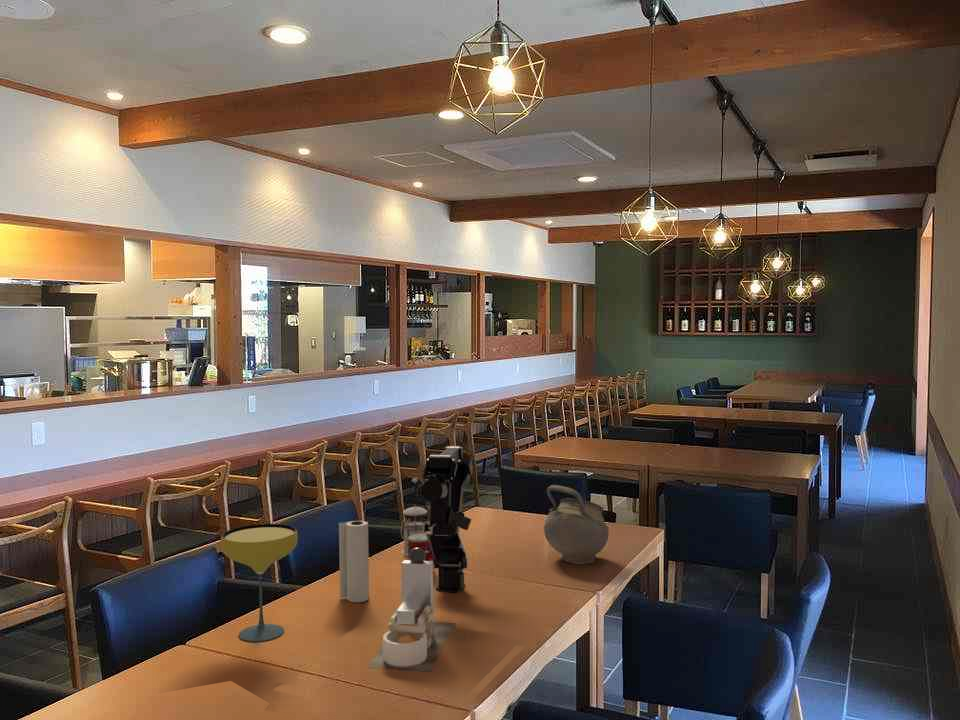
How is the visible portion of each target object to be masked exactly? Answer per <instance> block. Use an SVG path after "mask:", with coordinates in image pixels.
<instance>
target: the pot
mask: <svg viewBox="0 0 960 720" xmlns="http://www.w3.org/2000/svg"><path fill="white" fill-rule="evenodd" d="M551 491H553V492H560V493H564V494H565V493H566V494H569V495H572V496H573V497H575V498H571V497H569V498H568V497H567V498H566V497H565V498H561V499H560V503H559V505H558V504H557V502H556V501H555V499H554V497H553V494H552V492H551ZM546 494H547V496H548V499H549V500H550V501H551V504H552V505H553V507H552V508H550V509H548V511H549V512H548V515H547V517H546V519H545V522H544V525H543V533H544V536H545V539H546V541H547V543H548V545H549V546H551V547H552V549H554V550H555V551H556V552H557V553H558V552H559V553H560V555H561V557H562V560H563V561H564V562H567V563H571V564H576V565H577V564H579V565H585V563H586V564H590V563H593V562H594V561H595V558H596V556H597V555H598V554H599V553H601V551H602V550H603V549H604V548H605V546H606V544H607V542H609V541H608V540H609V536H610V535H609V531H610V528H609V526H608V525H607V524H606V523H605V518H604V516H603V514H602V513H603V512H604V508H603V507H602V506H601V505H599V504H597V503H594V502H593V501H589V500H584V499H583V497H582V495H581V493H579V492H578V491H577V490H576V489H573V488H571V487H568V486H563V485H558V484H552V485H550V486H548V487H547V488H546ZM557 505H558V506H557Z"/></svg>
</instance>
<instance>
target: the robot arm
mask: <svg viewBox="0 0 960 720" xmlns="http://www.w3.org/2000/svg"><path fill="white" fill-rule="evenodd" d="M473 467H474V466H473V461H472V457H471V456H470V455H469V454H468V453H466V452H465V451H464V448H463V446H460V445H459V446H458V445H456V446H454V445H451V446H450V445H448V446H445V448H444V450H443V451H442V452H441V453H440V454H430V455H429V456H428V458H427V459H426V461H425V467H424V470H423V474H422V479H423V480H426V481H425V482H424V483H423V484H422V486H421V488H420V491H421V496H422V498H423V499H424V500H425V501H427V502H428V505H427V510H428V520H426V521H424V522H425V523H424V524H423V532H426V531H427V532H428V533H427V534H426V536H427V539H428V541H429V544H430V547H431V550H432V552H433V558H434V569H438V585H437V587H435V590H436V591H442V592H443V591H444V592H450V593H457V592H459V591H461V590H462V589H463V588H465V587H466V584H465V572H464V569H467V568H468V557H467V553H466V551H465V549H464V544H463V543H462V540H461V538H460V529H461V530H464V531H465V530H466V531H468V530H469V527H470V524H471V523H472V522H471V521H472V518H469V517H468V516H467V517H466V516H465V513H464V512H462V507H463V497H464V490H465V488H466V487H467V486H468V484H469V483H470V482H471V476H473V471H474V469H473Z"/></svg>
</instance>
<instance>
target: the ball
mask: <svg viewBox="0 0 960 720" xmlns="http://www.w3.org/2000/svg"><path fill="white" fill-rule="evenodd" d="M411 642H415V640H414V639H413V637H411V636H410V635H403V636H402V637H400V638H399V640H398V643H411Z"/></svg>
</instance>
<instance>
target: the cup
mask: <svg viewBox="0 0 960 720" xmlns="http://www.w3.org/2000/svg"><path fill="white" fill-rule="evenodd" d="M403 635H410V636H411V637H413V639H414V640H415V642H411V643H398V640H399V638H400V637H402V636H403ZM382 637H383V638H382V646H383V658H384V662H385V663H386V664H388V665H390V666H394V667H412V666H416V665H419V664H421V663H423V662H424V661H425V660H426V659H427V634H426V632H424V633H415V632H397V631H389V630H388V631H387V632H385V633H384V634H383V636H382Z"/></svg>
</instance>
